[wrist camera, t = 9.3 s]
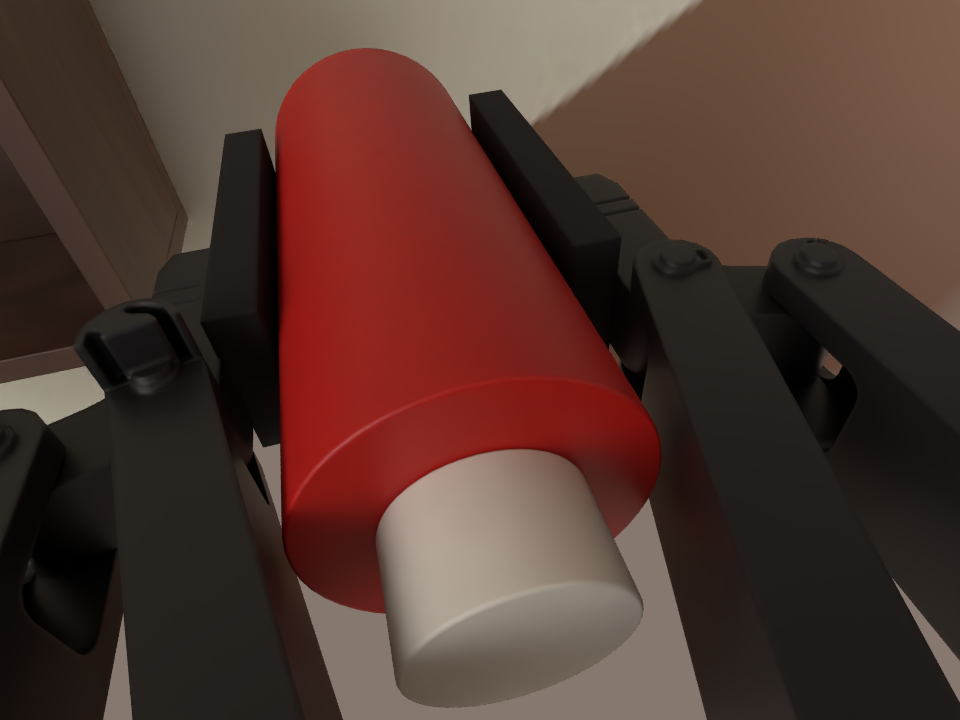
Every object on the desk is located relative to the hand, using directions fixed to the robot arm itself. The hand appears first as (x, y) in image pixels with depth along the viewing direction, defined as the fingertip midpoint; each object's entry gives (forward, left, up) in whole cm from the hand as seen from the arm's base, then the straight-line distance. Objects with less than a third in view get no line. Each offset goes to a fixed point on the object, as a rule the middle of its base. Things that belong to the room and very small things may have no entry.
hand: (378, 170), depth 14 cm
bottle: (0, 0, -1) cm, 1 cm away
